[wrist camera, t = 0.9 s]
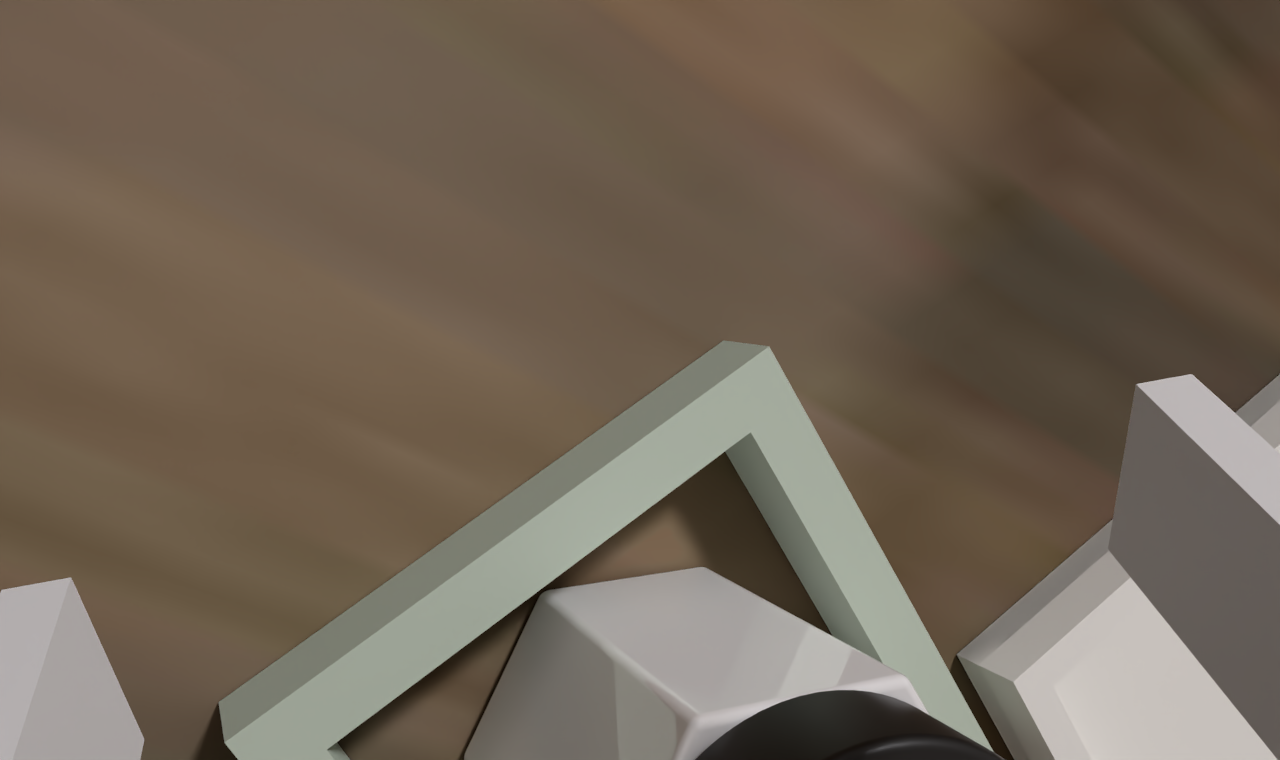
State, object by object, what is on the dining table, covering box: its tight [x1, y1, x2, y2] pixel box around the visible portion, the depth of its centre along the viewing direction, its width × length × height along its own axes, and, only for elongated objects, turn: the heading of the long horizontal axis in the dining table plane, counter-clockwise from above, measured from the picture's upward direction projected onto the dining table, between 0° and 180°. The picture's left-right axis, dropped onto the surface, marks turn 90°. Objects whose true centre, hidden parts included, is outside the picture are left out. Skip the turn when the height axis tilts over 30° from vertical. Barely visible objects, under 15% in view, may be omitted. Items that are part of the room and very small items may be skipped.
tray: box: [957, 374, 1280, 760], centre depth 38 cm, size 16×16×2 cm
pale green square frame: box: [218, 341, 994, 760], centre depth 30 cm, size 14×15×2 cm
